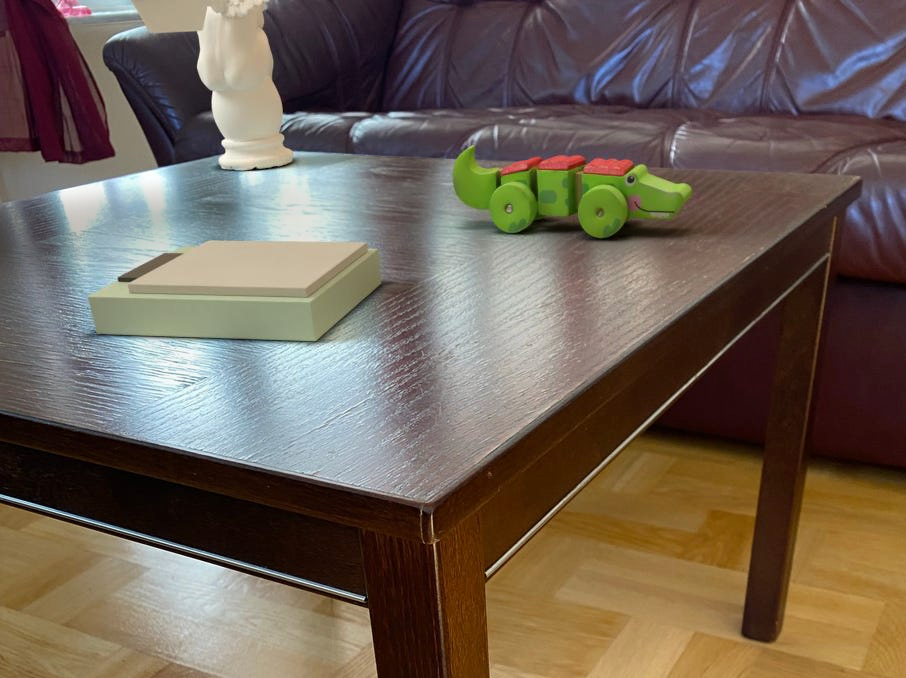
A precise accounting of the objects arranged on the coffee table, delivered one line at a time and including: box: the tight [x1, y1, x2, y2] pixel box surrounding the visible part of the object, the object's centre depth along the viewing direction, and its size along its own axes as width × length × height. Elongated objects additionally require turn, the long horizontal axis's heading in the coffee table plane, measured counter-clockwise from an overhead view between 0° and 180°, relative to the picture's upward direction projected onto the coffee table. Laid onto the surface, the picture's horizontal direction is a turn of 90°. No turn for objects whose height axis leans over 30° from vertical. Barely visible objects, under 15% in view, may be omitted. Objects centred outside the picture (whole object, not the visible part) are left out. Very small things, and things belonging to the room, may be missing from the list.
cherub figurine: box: [196, 0, 294, 171], centre depth 111 cm, size 12×12×22 cm
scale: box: [87, 240, 382, 342], centre depth 68 cm, size 15×13×3 cm
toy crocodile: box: [451, 144, 693, 239], centre depth 82 cm, size 20×7×6 cm, turn 65°
